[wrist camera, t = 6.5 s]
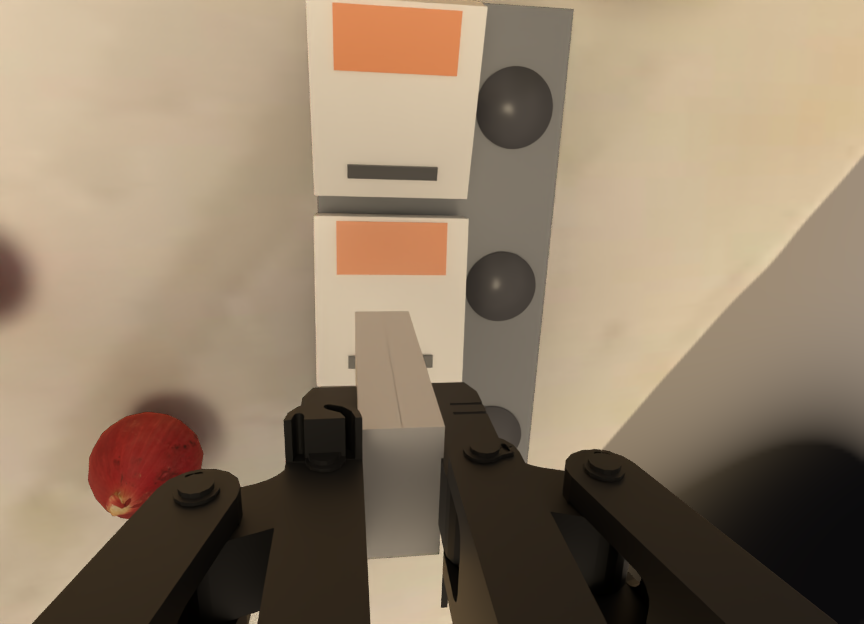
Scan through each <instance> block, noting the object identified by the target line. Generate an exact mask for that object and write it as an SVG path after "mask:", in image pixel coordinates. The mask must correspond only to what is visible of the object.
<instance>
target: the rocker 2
mask: <svg viewBox="0 0 864 624" xmlns="http://www.w3.org/2000/svg"><path fill="white" fill-rule="evenodd" d="M468 225H469V219H468V218H465V217H463V216H445V215H394V214H342V213H316V214H315V215H314V271H315V325H316V380H317V386H356V385H355V312H359V311H409V314H410V317H411V320H412V323H413V327H414V330H415V333H416V336H417V339H418V342H419V346H420V349H421V352H422V355H423V358H424V361H425V365H426V368H427V371H428V374H429V377H430V381H431V383H446V382H462V371H463V347H464V322H465V298H466V274H467V250H468Z"/></svg>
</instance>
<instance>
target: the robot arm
mask: <svg viewBox="0 0 864 624" xmlns="http://www.w3.org/2000/svg"><path fill="white" fill-rule="evenodd" d="M355 385H356V387H323V388H313V389H311V390H310V391H309V392H308V393H307V394H306V395H305V396H304V397H303V398H302V404H301V406H299V407H297V408H295V409H294V410H292V411H291V412H289V413H288V414H287V416H286V417H285V419H284V436H285V456H286V465H285V470H284V471H283V472H281V473H280V474H278V475H277V476H275V477H273V478H271V479H269V480H266V481H263V482H260V483H257V484H253V485H249V486H245V487H240V484H239V481H238V478H237V477H235V476H234V475H232V474H231V473H229V472H226V471H222V470H217V469H199V470H194V471H189V472H186V473H183V474H181V475H178V476H176V477H174V478H171V479H169V480H168V481H166V482H165V483H164V484H162V485H161V486H160V487H159V488H157V489H156V490H155V492H154V493H153V494H152V495H151V496H150V497H149V498H148V499H147V500H146V501H145V502H144V503H143V504H142V506H141V507H140V508H139V509H138V510H137V511H136V512H135V513H134V514H133V515H132V516H131V517H130V518H129V520H128V521H127V522H126V523H125V524H124V525H123V526H122V527H121V528H120V529H119V530H118V531H117V533H116V534H115V535H114V536H113V537H112V538H111V539H110V540H109V541H108V542H107V543H106V544H105V545H104V547H103V548H102V549H101V550H100V551H99V552H98V553H97V554H96V555H95V556H94V557H93V558H92V560H91V561H90V562H89V563H88V564H87V565H86V566H85V567H84V568H83V569H82V570H81V571H80V572H79V574H78V575H77V576H76V577H75V578H74V579H73V580H72V581H71V582H70V583H69V584H68V585H67V586H66V588H65V589H64V590H63V591H62V592H61V593H60V594H59V595H58V596H57V597H56V598H55V599H54V601H53V602H52V603H51V604H50V605H49V606H48V607H47V608H46V609H45V610H44V611H43V612H42V613H41V615H40V616H39V617H38V618H37V619H36V620H35V621H34V622H33V623H32V624H249V620H250V616H251V614H252V613H255V612H258V611H260V612H259V618H258V623H257V624H370V607H369V585H368V564H367V559H377V558H392V557H406V556H421V555H436V554H439V547H440V535H441V539H442V544H443V548H444V557H443V578H442V598H441V608H443V607H447V603H448V602H449V607H450V612H451V617H452V622H453V624H838V623H836V622H835V621H834V620H833V619H831V618H830V617H829V616H828V615H826V614H825V613H824V612H822V611H821V610H820V609H819V608H817V607H816V606H815V605H814V604H812V603H811V602H810V601H809V600H807V599H806V598H805V597H804V596H802V595H801V594H800V593H798V592H797V591H796V590H795V589H793V588H792V587H791V586H790V585H788V584H787V583H786V582H784V581H783V580H782V579H781V578H779V577H778V576H777V575H776V574H774V573H773V572H772V571H771V570H769V569H768V568H767V567H765V566H764V565H763V564H762V563H760V562H759V561H758V560H756V559H755V558H754V557H753V556H751V555H750V554H749V553H748V552H746V551H745V550H744V549H743V548H741V547H740V546H739V545H738V544H736V543H735V542H734V541H732V540H731V539H730V538H729V537H727V536H726V535H725V534H723V533H722V532H721V531H720V530H718V529H717V528H716V527H715V526H713V525H712V524H711V523H710V522H708V521H707V520H706V519H705V518H703V517H702V516H700V515H699V514H698V513H697V512H696V511H694V510H693V509H692V508H690V507H689V506H688V505H687V504H685V503H684V502H683V501H682V500H680V499H679V498H678V497H677V496H675V495H674V494H673V493H671V492H670V491H669V490H668V489H667V488H665V487H664V486H663V485H661V484H660V483H659V482H658V481H656V480H655V479H654V478H653V477H651V476H650V475H649V474H647V473H646V472H645V471H644V470H642V469H641V468H640V467H639V466H637V465H636V464H635V463H633V462H632V461H630V460H628V459H627V458H625V457H623V456H621V455H618V454H615V453H612V452H610V451H606V450H598V449H593V450H581V451H578V452H576V453H573V454H571V455H570V456H569V457H568V458H567V459H566V463H565V471H562V470H555V469H548V468H542V467H537V466H532V465H529V464H526V463H525V461H524V459H523V458H522V456H521V454H520V452H519V451H518V449H517V448H516V447H515V446H514V445H513V444H511V443H509V442H508V441H506V440H504V439H501V438H499V437H498V435H497V433H496V431H495V429H494V427H493V424H492V422H491V420H490V418H489V416H488V414H487V413H486V410H485V408H484V405H483V404H482V401H481V399H480V397H479V395H478V393H477V391H476V390H474V389H473V388H471V387H470V386H469V385H467V384H466V383H464V382H446V383H431V381H430V377H429V374H428V371H427V368H426V365H425V361H424V358H423V355H422V352H421V349H420V346H419V342H418V339H417V336H416V333H415V330H414V327H413V323H412V320H411V317H410V314H409V311H359V312H355ZM629 564H630V565H631V566H632V567H633V568H634V569H635V570H636V571H637V572H638V574H639V575H640V576H641V581H640V582H638V581H637V580H636V579H635V578H634V577H633V576H632V575H631V574H630V573H629V572H628V567H629Z"/></svg>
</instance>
